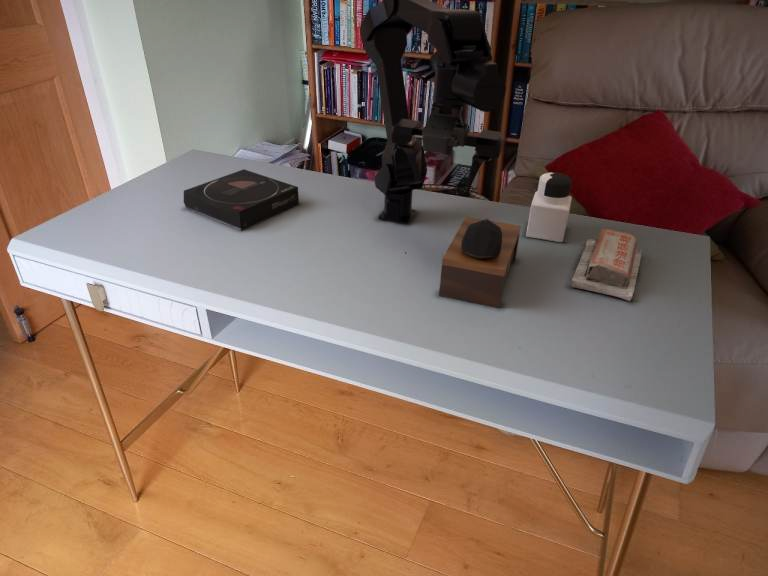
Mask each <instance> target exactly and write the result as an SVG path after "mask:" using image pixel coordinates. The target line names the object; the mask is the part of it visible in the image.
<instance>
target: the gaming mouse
mask: <svg viewBox="0 0 768 576" xmlns="http://www.w3.org/2000/svg"><path fill="white" fill-rule="evenodd" d="M491 221H492V220H489V218H484V219H482V221H479V222H476V223H473V224H470V225H469V226H468V227H467V229H466V231H465V234H464V236H463V239H462V243H461V248H462V251H463V252H465V253H467V254H469V255H471V256H473V257H478V258H489V257H495V256H498V255H499V253H500V251H501V245H502V231H501V228H500V227H499V226H497V225H496V224H494V223H493V222H491Z"/></svg>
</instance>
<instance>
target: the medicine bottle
mask: <svg viewBox="0 0 768 576" xmlns="http://www.w3.org/2000/svg"><path fill="white" fill-rule="evenodd" d="M572 184H573V180H572V178H571V177H570V176H568V175H566V174H564V173H561V172H554V171H551V172H546V173H543V174H542V175H540V176H539V181H538V186H537V190H536V191H535V192H534V195H533V198H532V201H531V204H530V209H529V215H528V221H527V227H526V233H525V236H526V238H531V239H536V240H537V239H538V240H543V241H549V242H556V243H563V242H564V239H565V234H566V230H567V224H568V220H569V216H570V211H571V205H572V200H573V197H572V196H571V195H570V194H571V189H572V186H573V185H572Z"/></svg>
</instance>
